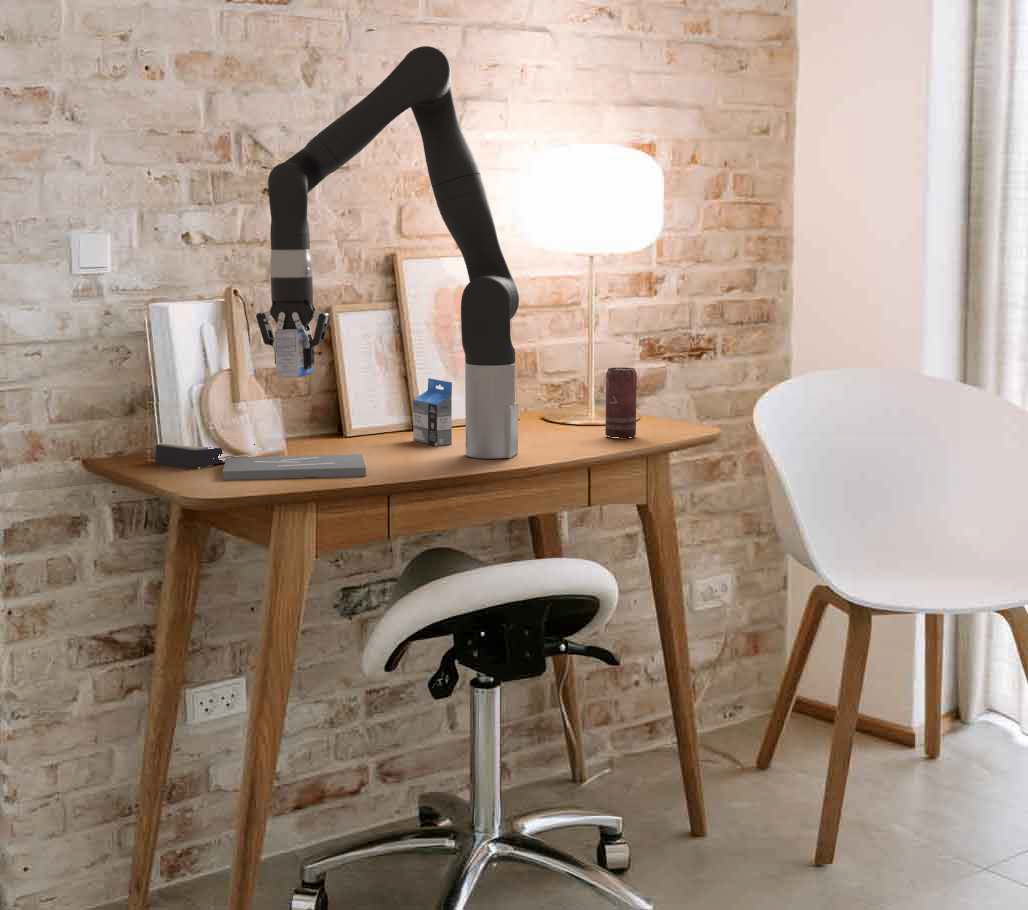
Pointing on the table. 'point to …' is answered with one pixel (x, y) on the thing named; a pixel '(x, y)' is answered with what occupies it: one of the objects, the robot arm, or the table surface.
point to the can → (621, 402)
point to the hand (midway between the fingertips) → (294, 367)
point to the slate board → (293, 467)
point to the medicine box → (290, 354)
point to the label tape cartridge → (433, 414)
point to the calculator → (186, 455)
